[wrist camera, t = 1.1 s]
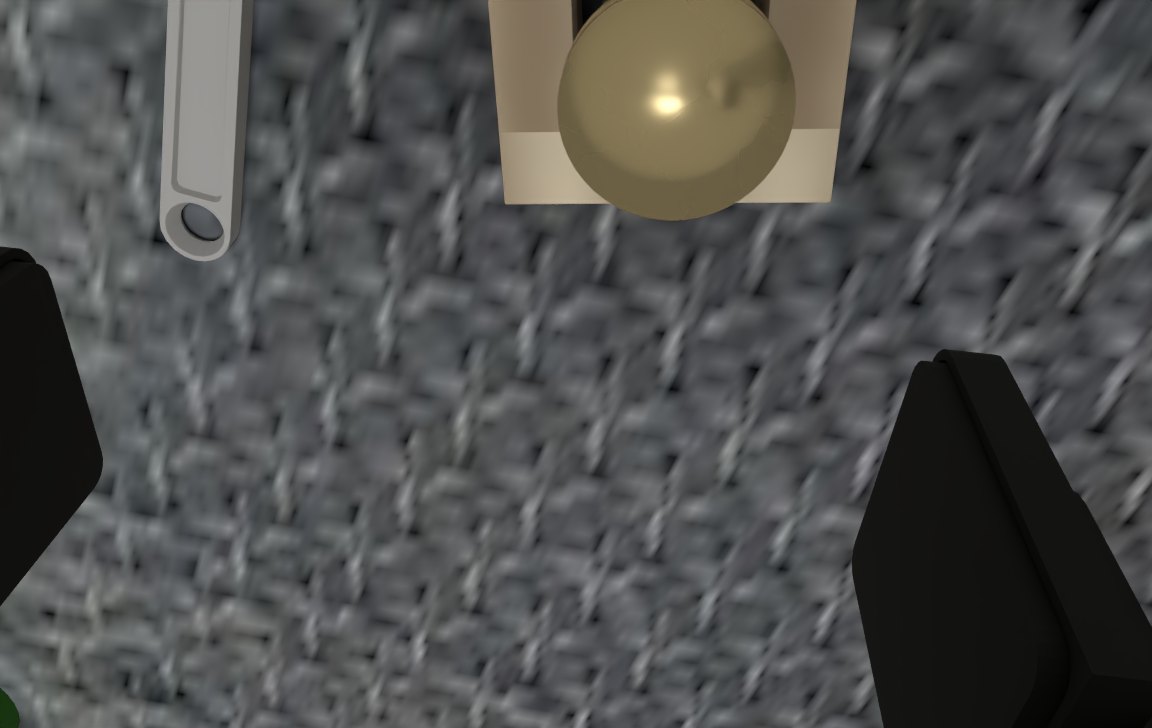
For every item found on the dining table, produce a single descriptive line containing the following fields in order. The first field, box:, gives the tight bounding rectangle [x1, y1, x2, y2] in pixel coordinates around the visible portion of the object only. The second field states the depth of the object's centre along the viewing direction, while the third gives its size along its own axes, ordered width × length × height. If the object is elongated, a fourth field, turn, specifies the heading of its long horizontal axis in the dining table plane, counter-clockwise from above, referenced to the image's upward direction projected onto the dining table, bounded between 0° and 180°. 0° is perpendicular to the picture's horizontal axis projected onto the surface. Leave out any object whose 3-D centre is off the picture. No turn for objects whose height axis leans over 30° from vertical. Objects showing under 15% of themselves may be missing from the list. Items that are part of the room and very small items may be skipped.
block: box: [488, 0, 856, 204], centre depth 27 cm, size 10×10×4 cm
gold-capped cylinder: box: [557, 0, 796, 221], centre depth 25 cm, size 5×5×11 cm
